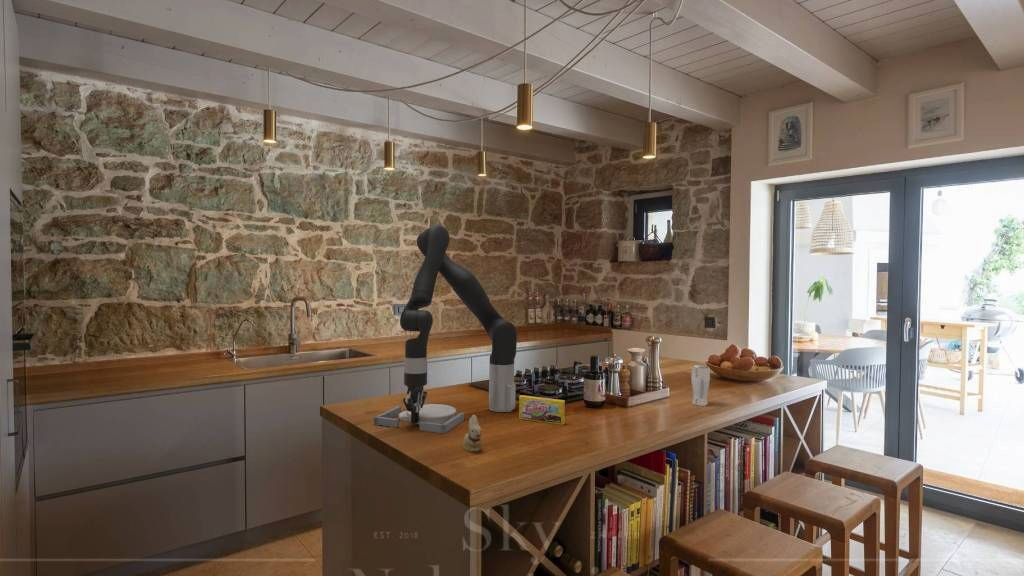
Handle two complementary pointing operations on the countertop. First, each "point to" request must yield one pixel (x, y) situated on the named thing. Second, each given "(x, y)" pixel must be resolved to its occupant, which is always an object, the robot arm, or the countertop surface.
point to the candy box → (542, 409)
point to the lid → (431, 414)
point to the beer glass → (700, 384)
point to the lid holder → (388, 420)
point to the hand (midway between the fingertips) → (415, 422)
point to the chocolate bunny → (473, 436)
